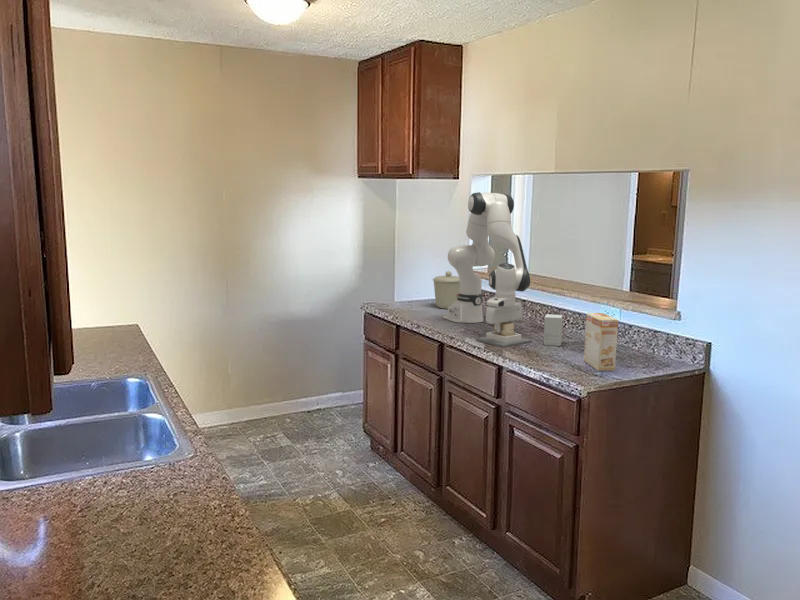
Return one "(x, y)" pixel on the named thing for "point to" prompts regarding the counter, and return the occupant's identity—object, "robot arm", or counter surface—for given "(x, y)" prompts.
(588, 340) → the coffeecake box
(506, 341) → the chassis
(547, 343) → the supplement box
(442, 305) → the canister
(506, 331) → the tan cardboard carton
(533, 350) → the counter surface
